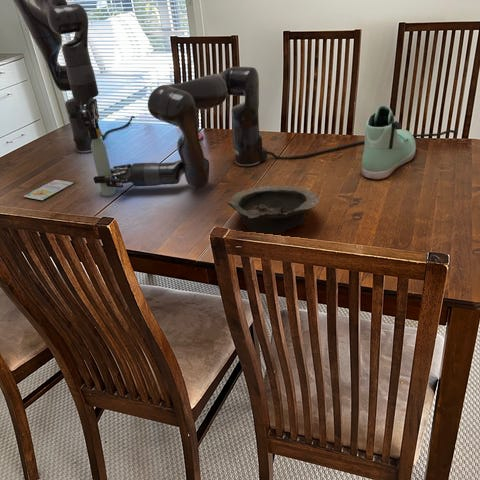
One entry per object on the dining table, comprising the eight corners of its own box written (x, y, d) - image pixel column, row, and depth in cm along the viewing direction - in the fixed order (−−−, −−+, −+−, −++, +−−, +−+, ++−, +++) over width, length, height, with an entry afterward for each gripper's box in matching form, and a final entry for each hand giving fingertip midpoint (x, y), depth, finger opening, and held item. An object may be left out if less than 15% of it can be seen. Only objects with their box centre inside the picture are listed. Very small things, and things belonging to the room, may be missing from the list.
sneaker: (420, 146, 175) (428, 89, 165) (399, 183, 150) (406, 120, 139) (383, 142, 181) (388, 87, 171) (356, 177, 156) (360, 116, 145)
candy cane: (171, 147, 193) (170, 143, 192) (194, 135, 203) (194, 131, 202) (182, 149, 190) (182, 145, 189) (206, 137, 200) (205, 133, 199)
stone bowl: (258, 254, 121) (254, 221, 116) (217, 221, 141) (212, 192, 137) (338, 225, 129) (337, 193, 125) (288, 198, 150) (286, 170, 145)
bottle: (107, 189, 162) (93, 129, 151) (118, 191, 161) (104, 130, 150) (99, 195, 159) (84, 134, 148) (110, 196, 157) (96, 135, 146)
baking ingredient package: (22, 195, 161) (55, 178, 172) (23, 197, 161) (55, 180, 172) (41, 199, 157) (74, 182, 169) (42, 200, 157) (74, 183, 169)
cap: (102, 137, 148) (101, 131, 147) (89, 139, 147) (88, 133, 146) (101, 133, 151) (100, 127, 150) (89, 135, 151) (87, 129, 150)
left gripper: (74, 76, 146) (88, 130, 155) (63, 87, 134) (78, 145, 143) (99, 73, 147) (111, 128, 156) (90, 84, 135) (104, 143, 144)
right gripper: (150, 155, 159) (100, 157, 161) (141, 172, 147) (87, 175, 149) (154, 176, 163) (105, 178, 165) (145, 194, 151) (92, 196, 153)
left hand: (95, 136), depth 149 cm, fingers closed on cap, 3 cm apart
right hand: (96, 176), depth 157 cm, fingers closed on bottle, 4 cm apart
